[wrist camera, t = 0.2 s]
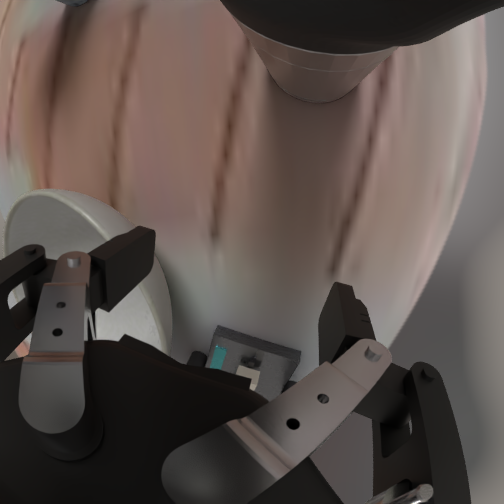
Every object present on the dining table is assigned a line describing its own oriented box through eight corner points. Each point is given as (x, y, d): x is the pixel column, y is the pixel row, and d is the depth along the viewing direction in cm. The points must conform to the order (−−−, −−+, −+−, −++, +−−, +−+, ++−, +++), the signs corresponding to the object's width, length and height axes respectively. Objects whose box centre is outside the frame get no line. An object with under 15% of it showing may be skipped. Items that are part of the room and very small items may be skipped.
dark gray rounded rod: (192, 349, 40) (156, 420, 27) (208, 354, 40) (176, 429, 27) (190, 359, 41) (156, 428, 29) (206, 364, 41) (175, 436, 28)
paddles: (239, 365, 35) (234, 378, 33) (260, 371, 35) (257, 385, 33) (225, 399, 40) (221, 411, 37) (243, 405, 39) (239, 417, 37)
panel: (217, 325, 37) (211, 338, 34) (300, 351, 36) (299, 365, 34) (201, 387, 44) (196, 398, 41) (266, 407, 43) (264, 419, 41)
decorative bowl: (220, 346, 39) (193, 412, 28) (87, 324, 44) (50, 364, 33) (190, 152, 28) (123, 168, 17) (43, 183, 33) (-15, 206, 22)
